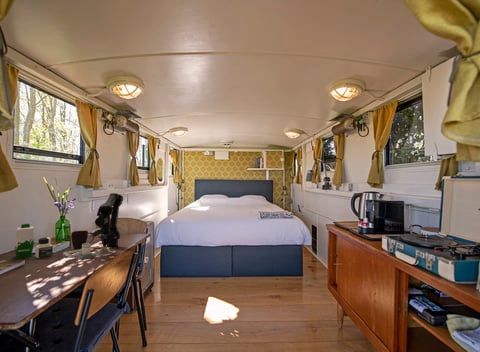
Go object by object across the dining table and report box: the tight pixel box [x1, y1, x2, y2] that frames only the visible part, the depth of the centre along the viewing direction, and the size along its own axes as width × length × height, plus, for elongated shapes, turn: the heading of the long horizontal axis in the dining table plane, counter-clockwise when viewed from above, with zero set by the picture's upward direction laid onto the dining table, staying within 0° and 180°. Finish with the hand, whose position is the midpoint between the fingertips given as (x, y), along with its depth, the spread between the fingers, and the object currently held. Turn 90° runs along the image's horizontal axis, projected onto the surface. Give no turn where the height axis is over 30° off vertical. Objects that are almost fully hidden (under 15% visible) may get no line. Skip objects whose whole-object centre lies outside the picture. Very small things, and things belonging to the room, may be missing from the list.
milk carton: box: [14, 223, 35, 259], centre depth 151 cm, size 9×9×20 cm
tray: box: [62, 249, 82, 259], centre depth 153 cm, size 10×10×2 cm
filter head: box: [75, 248, 112, 261], centre depth 153 cm, size 18×10×3 cm, turn 145°
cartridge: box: [81, 242, 92, 256], centre depth 149 cm, size 5×5×8 cm
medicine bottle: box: [34, 236, 54, 259], centre depth 150 cm, size 7×7×12 cm
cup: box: [70, 230, 95, 250], centre depth 171 cm, size 10×14×12 cm
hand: (104, 247), depth 158 cm, fingers closed, pressing on plunger
